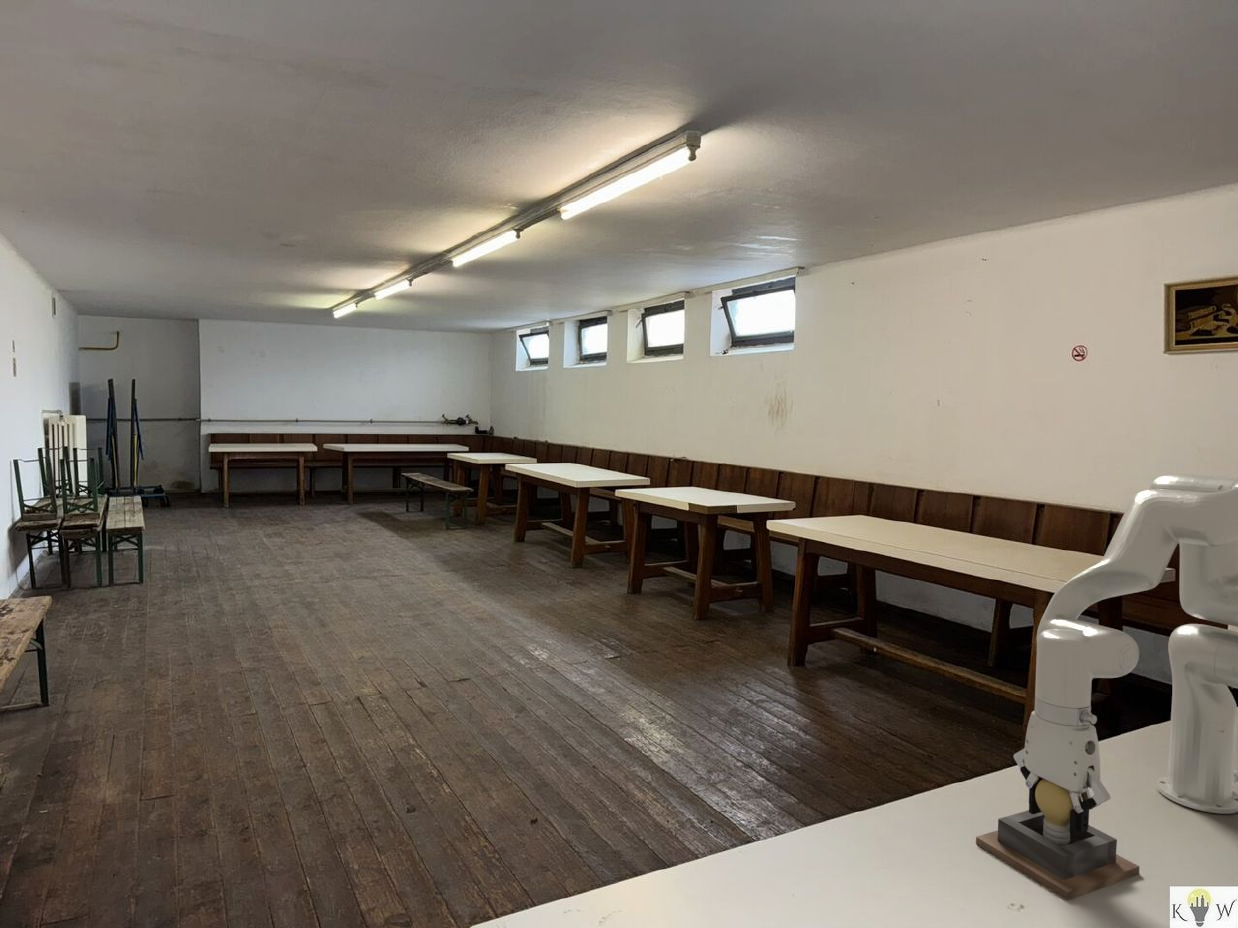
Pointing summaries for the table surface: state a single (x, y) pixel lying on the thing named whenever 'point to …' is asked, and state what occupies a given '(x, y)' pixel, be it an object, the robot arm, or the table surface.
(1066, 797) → the light bulb
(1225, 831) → the table surface
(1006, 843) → the lamp socket
